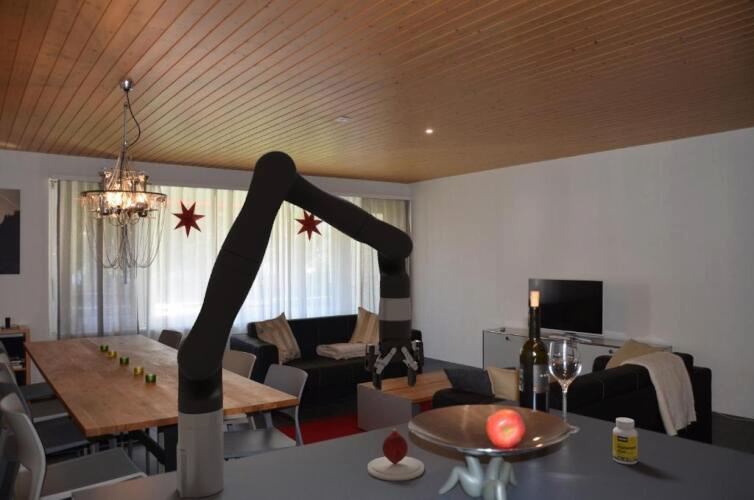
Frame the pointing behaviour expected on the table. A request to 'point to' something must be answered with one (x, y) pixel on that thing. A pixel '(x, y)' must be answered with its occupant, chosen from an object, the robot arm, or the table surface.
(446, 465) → the table surface
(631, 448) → the supplement bottle
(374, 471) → the saucer
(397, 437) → the onion
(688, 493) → the table surface
